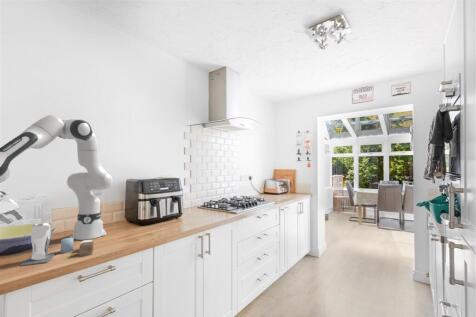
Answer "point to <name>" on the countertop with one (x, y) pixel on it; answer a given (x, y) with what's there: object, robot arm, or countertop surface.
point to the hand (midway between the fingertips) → (16, 220)
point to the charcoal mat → (30, 262)
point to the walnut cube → (86, 248)
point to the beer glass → (40, 240)
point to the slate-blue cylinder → (67, 245)
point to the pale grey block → (86, 241)
